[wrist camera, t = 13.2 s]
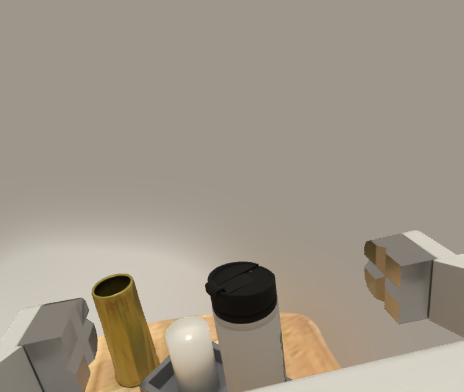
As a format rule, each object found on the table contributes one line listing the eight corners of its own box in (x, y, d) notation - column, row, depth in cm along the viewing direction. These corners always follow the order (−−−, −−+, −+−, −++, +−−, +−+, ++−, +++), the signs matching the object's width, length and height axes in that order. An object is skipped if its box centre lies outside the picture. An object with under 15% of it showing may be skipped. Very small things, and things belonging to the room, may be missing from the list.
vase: (122, 396, 45) (91, 307, 40) (111, 365, 50) (83, 283, 45) (165, 372, 47) (142, 285, 42) (151, 345, 52) (129, 266, 48)
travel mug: (221, 424, 39) (190, 274, 32) (265, 389, 42) (245, 247, 35) (257, 470, 34) (230, 305, 27) (303, 426, 37) (289, 269, 30)
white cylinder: (171, 393, 43) (155, 337, 40) (198, 364, 47) (186, 311, 44) (201, 413, 40) (187, 354, 37) (227, 380, 44) (217, 324, 41)
